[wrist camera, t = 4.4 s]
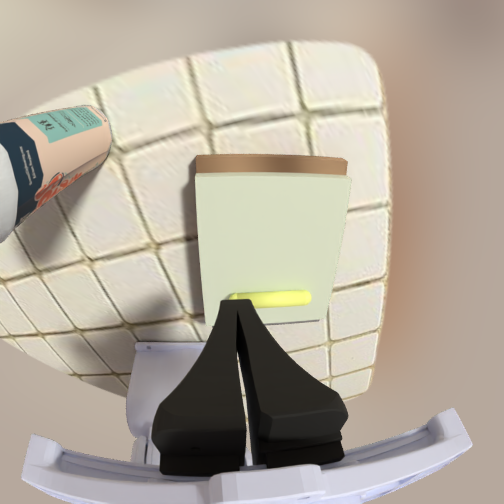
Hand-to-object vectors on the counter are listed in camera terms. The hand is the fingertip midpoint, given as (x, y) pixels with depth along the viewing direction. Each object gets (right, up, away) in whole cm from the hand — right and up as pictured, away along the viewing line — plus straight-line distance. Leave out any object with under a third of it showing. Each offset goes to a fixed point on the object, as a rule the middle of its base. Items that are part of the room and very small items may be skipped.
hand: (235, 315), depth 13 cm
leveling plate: (+2, +3, +8) cm, 9 cm away
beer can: (-11, +11, +3) cm, 16 cm away
